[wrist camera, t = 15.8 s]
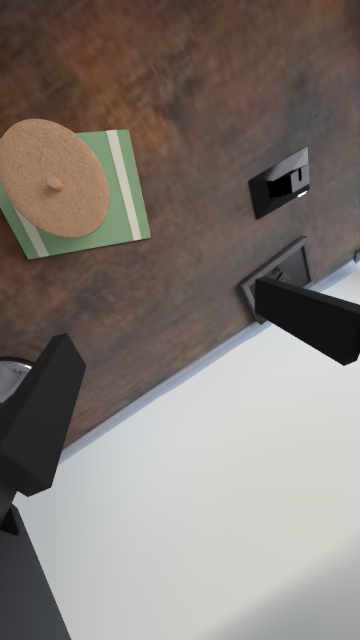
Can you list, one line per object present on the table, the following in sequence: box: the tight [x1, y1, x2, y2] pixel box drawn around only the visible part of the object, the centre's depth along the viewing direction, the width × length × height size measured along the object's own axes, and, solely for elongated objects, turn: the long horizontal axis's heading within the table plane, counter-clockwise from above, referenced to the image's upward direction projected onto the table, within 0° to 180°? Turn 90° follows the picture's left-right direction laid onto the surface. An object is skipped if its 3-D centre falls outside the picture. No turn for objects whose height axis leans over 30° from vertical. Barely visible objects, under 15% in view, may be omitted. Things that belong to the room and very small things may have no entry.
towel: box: [0, 130, 151, 259], centre depth 26 cm, size 20×14×1 cm
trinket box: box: [0, 119, 110, 238], centre depth 22 cm, size 11×11×9 cm
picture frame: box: [238, 236, 317, 325], centre depth 43 cm, size 13×2×18 cm
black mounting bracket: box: [249, 147, 309, 219], centre depth 32 cm, size 12×7×5 cm, turn 117°
